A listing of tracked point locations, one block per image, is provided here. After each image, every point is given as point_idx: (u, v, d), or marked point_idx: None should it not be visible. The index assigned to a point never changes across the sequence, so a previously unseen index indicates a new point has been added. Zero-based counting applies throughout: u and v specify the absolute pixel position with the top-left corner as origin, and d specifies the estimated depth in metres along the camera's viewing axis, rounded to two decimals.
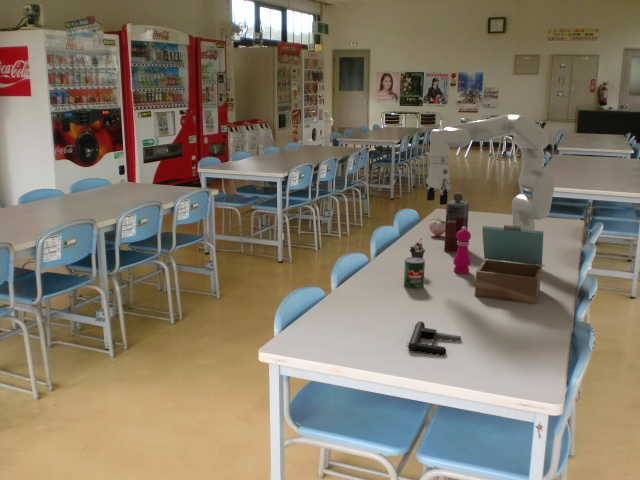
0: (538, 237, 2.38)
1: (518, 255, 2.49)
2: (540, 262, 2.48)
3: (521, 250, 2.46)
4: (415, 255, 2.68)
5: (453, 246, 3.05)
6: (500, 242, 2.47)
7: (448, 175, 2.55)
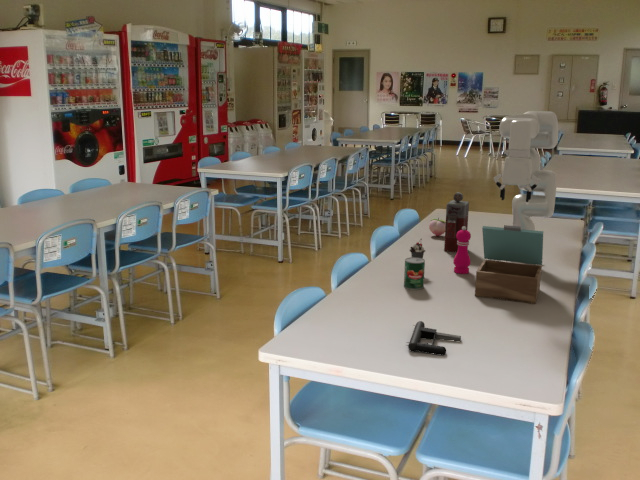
0: (538, 237, 2.38)
1: (518, 255, 2.49)
2: (540, 262, 2.48)
3: (521, 250, 2.46)
4: (415, 255, 2.68)
5: (453, 246, 3.05)
6: (500, 242, 2.47)
7: (503, 168, 2.38)
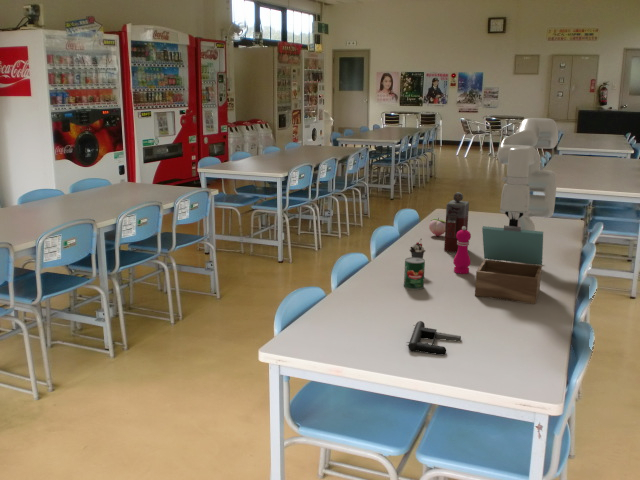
0: (538, 237, 2.38)
1: (518, 255, 2.49)
2: (540, 262, 2.48)
3: (521, 250, 2.46)
4: (415, 255, 2.68)
5: (453, 246, 3.05)
6: (500, 242, 2.47)
7: None
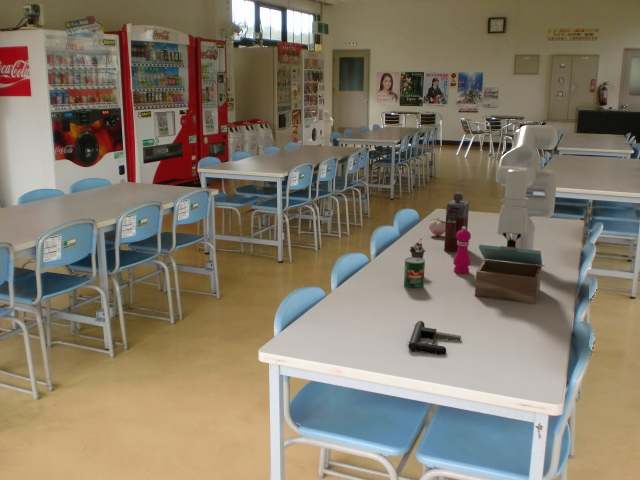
0: (536, 255, 2.35)
1: (517, 260, 2.49)
2: (540, 264, 2.48)
3: (520, 258, 2.45)
4: (415, 255, 2.68)
5: (453, 246, 3.05)
6: (498, 254, 2.45)
7: None
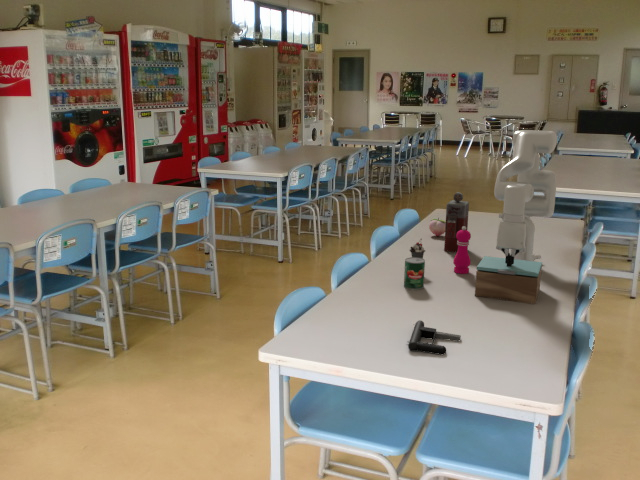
0: None
1: None
2: None
3: None
4: (415, 255, 2.68)
5: (453, 246, 3.05)
6: None
7: (498, 232, 2.41)
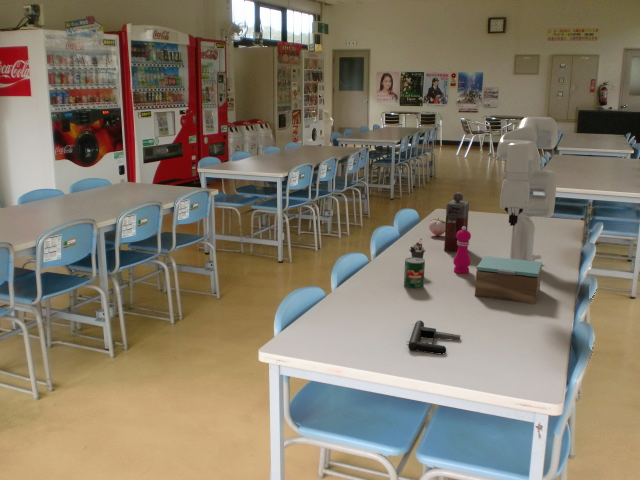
0: None
1: None
2: None
3: None
4: (415, 255, 2.68)
5: (453, 246, 3.05)
6: None
7: (501, 191, 2.37)
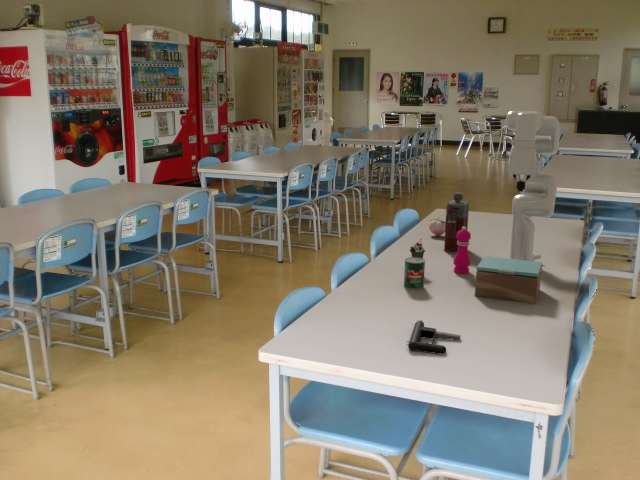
0: None
1: None
2: None
3: None
4: (415, 255, 2.68)
5: (453, 246, 3.05)
6: None
7: None
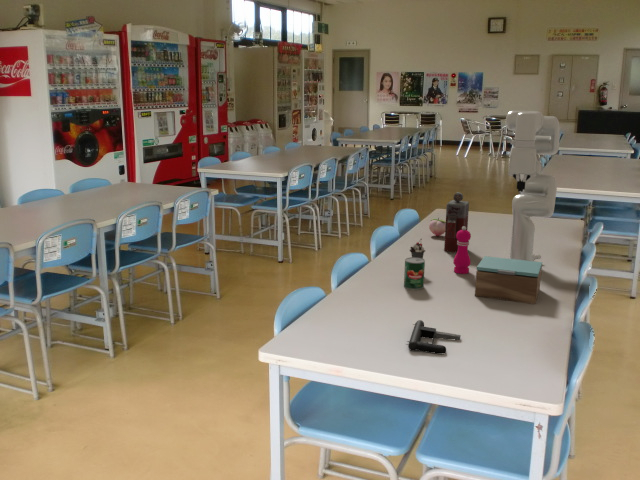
0: None
1: None
2: None
3: None
4: (415, 255, 2.68)
5: (453, 246, 3.05)
6: None
7: None
